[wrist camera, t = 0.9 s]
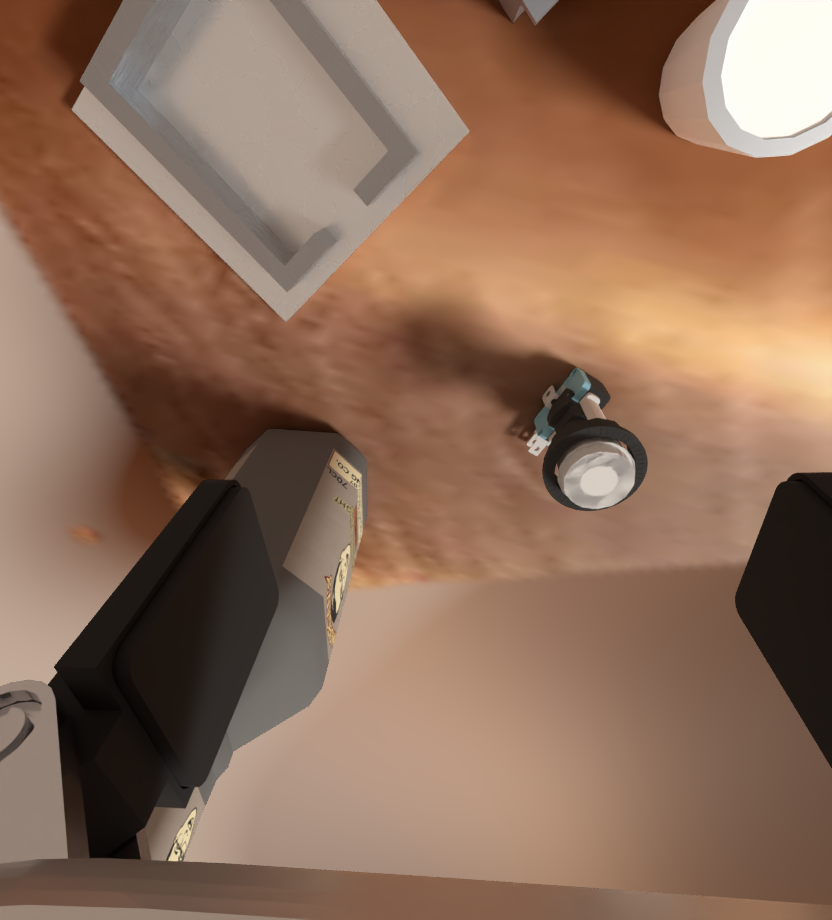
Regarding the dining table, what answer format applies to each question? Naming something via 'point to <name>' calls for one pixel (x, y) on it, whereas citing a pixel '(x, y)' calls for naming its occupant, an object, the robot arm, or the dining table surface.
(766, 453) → the dining table surface
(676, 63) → the white cylinder
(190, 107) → the plate
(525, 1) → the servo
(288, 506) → the liquor
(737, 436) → the dining table surface
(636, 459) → the push button
